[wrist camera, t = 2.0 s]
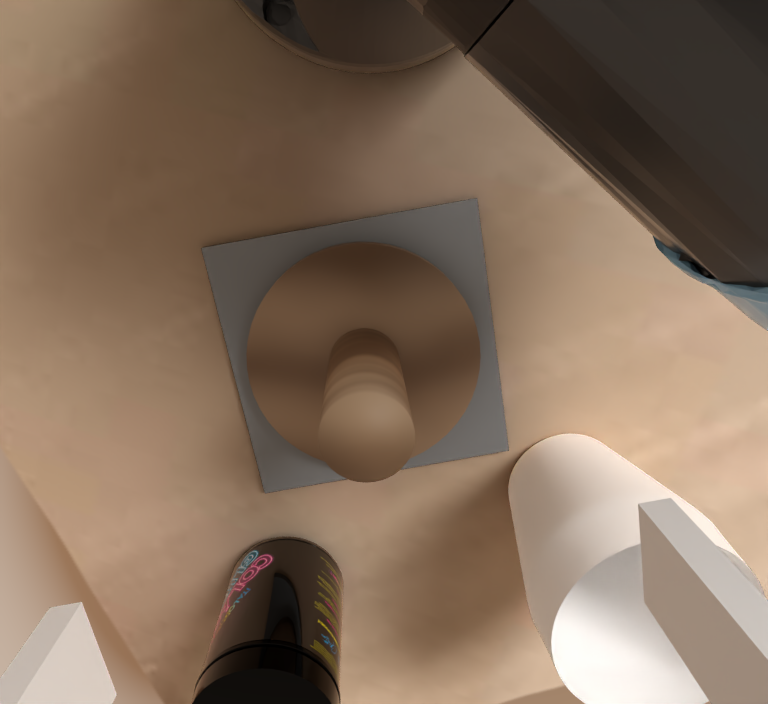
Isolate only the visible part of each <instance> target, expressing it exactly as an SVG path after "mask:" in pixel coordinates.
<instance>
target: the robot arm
mask: <svg viewBox="0 0 768 704" xmlns="http://www.w3.org/2000/svg"><path fill="white" fill-rule="evenodd" d="M235 1H236V2H237V4H238V5H239V6H240V8H241V9H242V10H243V11H244V12H245V13H246V15H247V16H248V17H249V18H250V19H251V20H252V21H253V22H254V23H255V24H256V25H257V26H258V27H259V28H260V29H261V30H262V31H264V32H265V33H266V34H267V35H268V36H269V37H271V38H272V39H273V40H275V41H276V42H277V43H279V44H280V45H282V46H283V47H285V48H286V49H288V50H289V51H291V52H293V53H295V54H297V55H298V56H300V57H302V58H304V59H307V60H309V61H311V62H313V63H316V64H319V65H322V66H325V67H329V68H332V69H336V70H341V71H347V72H355V73H385V72H392V71H398V70H402V69H407V68H410V67H413V66H417V65H420V64H422V63H425V62H427V61H430V60H432V59H434V58H436V57H438V56H440V55H442V54H444V53H445V52H447V51H449V50H450V49H452V48H453V47H455V46H457V47H458V48H459V49H460V50H461V51H462V53H463V54H465V56H464V57H465V58H466V59H467V60H468V61H469V62H470V63H471V64H472V65H473V66H474V67H476V68H477V69H478V70H479V71H480V72H481V73H482V74H483V75H484V76H485V77H486V78H487V79H488V80H489V81H490V82H491V83H492V84H493V85H495V86H496V87H497V88H498V89H499V90H500V91H501V92H502V93H503V94H504V95H505V96H506V97H507V98H508V99H509V100H510V101H511V102H513V103H514V104H515V105H516V106H517V107H518V108H519V109H520V110H521V111H522V112H523V113H524V114H525V115H526V116H527V117H528V118H529V119H531V120H532V121H533V122H534V123H535V124H536V125H537V126H538V127H539V128H540V129H541V130H542V131H543V132H544V133H545V134H546V135H547V136H549V137H550V138H551V139H552V140H553V141H554V142H555V143H556V144H557V145H558V146H559V147H560V148H561V149H562V150H563V151H564V152H565V153H567V154H568V155H569V156H570V157H571V158H572V159H573V160H574V161H575V162H576V163H577V164H578V165H579V166H580V167H581V168H582V169H583V170H585V171H586V172H587V173H588V174H589V175H590V176H591V177H592V178H593V179H594V180H595V181H596V182H597V183H598V184H599V185H600V186H601V187H603V188H604V189H605V190H606V191H607V192H608V193H609V194H610V195H611V196H612V197H613V198H614V199H615V200H616V201H617V202H618V203H619V204H621V205H622V206H623V207H624V208H625V209H626V210H627V211H628V212H629V213H630V214H631V215H632V216H633V217H634V218H635V219H636V220H637V221H639V222H640V223H641V224H642V225H643V226H644V227H645V228H646V229H647V230H648V231H649V232H650V233H651V234H652V235H653V237H654V240H655V243H656V246H657V248H658V249H659V250H660V251H661V252H662V253H663V254H664V255H665V256H666V257H667V258H668V259H669V260H670V261H671V262H672V263H673V264H674V265H675V266H677V267H678V268H679V269H681V270H682V271H683V272H684V273H686V274H687V275H689V276H690V277H692V278H694V279H696V280H698V281H700V282H702V283H705V284H707V285H709V286H711V287H713V288H715V289H716V290H717V291H718V292H719V293H721V294H722V295H723V296H724V297H725V298H726V299H728V300H729V301H730V302H731V303H732V304H733V305H735V306H736V307H737V308H738V309H739V310H741V311H742V312H743V313H744V314H745V315H746V316H748V317H749V318H750V319H751V320H753V321H754V322H755V323H757V324H758V325H760V326H761V327H763V328H764V329H766V330H767V331H768V0H235ZM638 511H639V527H640V543H641V558H642V574H643V590H644V603H645V604H646V606H647V607H648V609H649V610H650V612H651V613H652V615H653V616H654V618H655V619H656V621H657V622H658V624H659V625H660V627H661V628H662V630H663V631H664V633H665V634H666V636H667V638H668V639H669V641H670V642H671V644H672V645H673V647H674V648H675V650H676V651H677V653H678V654H679V656H680V657H681V659H682V660H683V662H684V663H685V665H686V666H687V668H688V669H689V671H690V673H691V674H692V676H693V677H694V679H695V680H696V682H697V683H698V685H699V686H700V688H701V689H702V691H703V692H704V694H705V695H706V697H707V698H708V700H709V701H710V703H711V704H768V600H767V599H766V598H765V597H764V596H763V595H762V594H761V593H760V592H759V591H758V589H757V588H756V587H755V586H754V585H753V584H752V583H751V582H750V581H749V580H748V579H747V578H746V577H745V576H744V575H743V574H742V573H741V572H740V570H739V569H738V568H737V567H736V566H735V565H734V564H733V563H732V562H731V561H730V560H729V559H728V558H727V557H726V556H725V555H724V554H723V552H722V551H721V550H720V549H719V548H718V547H717V546H716V545H715V544H714V543H713V542H712V541H711V540H710V539H709V538H708V537H707V536H706V534H705V533H704V532H703V531H702V530H701V529H700V528H699V527H698V526H697V525H696V524H695V523H694V522H693V521H692V520H691V519H690V518H689V516H688V515H687V514H686V513H685V512H684V511H683V510H682V509H681V508H680V507H679V506H678V505H677V504H676V503H675V502H674V501H673V500H672V498H667V499H661V500H656V501H650V502H644V503H639V504H638ZM116 695H117V693H116V691H115V688H114V685H113V683H112V680H111V678H110V675H109V672H108V670H107V667H106V664H105V662H104V659H103V657H102V654H101V652H100V649H99V646H98V643H97V641H96V638H95V636H94V633H93V630H92V628H91V625H90V623H89V620H88V617H87V615H86V612H85V609H84V607H83V604H82V602H78V603H72V604H67V605H61V606H56V607H50V608H49V609H48V611H47V612H46V613H45V615H44V617H43V618H42V619H41V621H40V622H39V623H38V625H37V626H36V628H35V629H34V631H33V632H32V633H31V635H30V636H29V638H28V639H27V641H26V642H25V643H24V645H23V646H22V648H21V649H20V650H19V652H18V654H17V655H16V656H15V658H14V659H13V661H12V662H11V663H10V665H9V666H8V668H7V669H6V670H5V672H4V673H3V675H2V676H1V678H0V704H113V702H114V699H115V697H116Z"/></svg>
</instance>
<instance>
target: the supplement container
mask: <svg viewBox="0 0 768 704" xmlns="http://www.w3.org/2000/svg"><path fill="white" fill-rule="evenodd" d="M342 610H343V578H342V574H341V571H340V569H339V567H338V565H337V563H336V562H335V560H334V559H333V558H332V556H331V555H330V554H329V553H328V552H327V551H326V550H325V549H323V548H322V547H320V546H319V545H317V544H315V543H313V542H311V541H308V540H306V539H302V538H297V537H276V538H271V539H268V540H265V541H263V542H260V543H259V544H257V545H255V546H254V547H252V548H251V549H249V550H248V551H247V552H246V553H245V554H244V555H243V556H242V557H241V558H240V559H239V561H238V562H237V564H236V565H235V568H234V570H233V573H232V576H231V579H230V582H229V585H228V589H227V592H226V595H225V598H224V601H223V605H222V608H221V611H220V614H219V617H218V621H217V624H216V627H215V630H214V633H213V637H212V640H211V643H210V646H209V650H208V653H207V656H206V659H205V662H204V666H203V669H202V672H201V674H200V676H199V678H198V681H197V684H196V687H195V691H194V695H193V699H192V702H191V704H340V700H341V699H340V664H341V637H342Z"/></svg>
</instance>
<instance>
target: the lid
mask: <svg viewBox="0 0 768 704" xmlns="http://www.w3.org/2000/svg"><path fill="white" fill-rule="evenodd" d="M246 356H247V371H248V377H249V382H250V385H251V389H252V392H253V395H254V397H255V399H256V401H257V404H258V406H259V408H260V410H261V411H262V413H263V414H264V416H265V417H266V419H267V420H268V422H269V423H270V424H271V425H272V426H273V428H274V429H275V430H276V431H277V432H278V433H279V434H280V435H281V436H282V437H283V438H284V439H285V440H287V441H288V442H289V443H290V444H292V445H293V446H295V447H296V448H297V449H299V450H300V451H302V452H304V453H306V454H308V455H310V456H312V457H314V458H316V459H319V460H322V461H324V462H326V463H327V465H328V466H329V467H330V468H331V469H332V470H333V471H334V472H336V473H337V474H339V475H340V476H342V477H344V478H347V479H349V480H353V481H357V482H375V481H379V480H383V479H386V478H388V477H390V476H392V475H394V474H395V473H396V472H398V471H399V470H400V469H401V468H402V467H403V466H404V465H405V464H406V463H407V461H408V460H409V459H410V458H413V457H414V456H416V455H418V454H420V453H422V452H424V451H426V450H427V449H429V448H430V447H432V446H433V445H435V444H436V443H438V442H439V441H440V440H441V439H442V438H443V437H444V436H446V435H447V434H448V433H449V432H450V430H451V429H452V428H453V427H454V426H455V425H456V424H457V423H458V421H459V420H460V418H461V417H462V415H463V414H464V412H465V411H466V409H467V407H468V405H469V403H470V401H471V399H472V396H473V394H474V391H475V388H476V385H477V381H478V376H479V371H480V358H481V354H480V341H479V336H478V331H477V327H476V324H475V321H474V318H473V315H472V313H471V311H470V309H469V307H468V305H467V303H466V301H465V299H464V298H463V297H462V295H461V294H460V292H459V291H458V289H457V288H456V287H455V286H454V284H453V283H452V282H451V281H450V280H449V279H448V278H447V277H446V276H445V274H444V273H443V272H441V271H440V270H439V269H438V268H437V267H435V266H434V265H433V264H432V263H430V262H429V261H427V260H425V259H424V258H422V257H421V256H419V255H417V254H415V253H413V252H410V251H408V250H406V249H403V248H400V247H396V246H393V245H390V244H383V243H377V242H351V243H342V244H338V245H334V246H330V247H327V248H324V249H322V250H319V251H317V252H314V253H312V254H310V255H309V256H307V257H305V258H303V259H301V260H300V261H298V262H297V263H296V264H294V265H293V266H292V267H290V268H289V269H288V270H287V271H286V272H285V273H284V274H283V275H282V276H281V277H280V278H279V279H278V280H277V281H276V282H275V283H274V285H273V286H272V287H271V289H270V290H269V291H268V293H267V294H266V295H265V297H264V298H263V300H262V302H261V304H260V306H259V307H258V309H257V311H256V314H255V316H254V319H253V321H252V324H251V328H250V332H249V336H248V342H247V352H246Z"/></svg>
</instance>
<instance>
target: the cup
mask: <svg viewBox="0 0 768 704" xmlns="http://www.w3.org/2000/svg"><path fill="white" fill-rule="evenodd" d="M508 495H509V502H510V507H511V513H512V519H513V524H514V530H515V536H516V541H517V547H518V553H519V558H520V564H521V570H522V575H523V581H524V586H525V592H526V597H527V603H528V606H529V610H530V613H531V617H532V620H533V622H534V625H535V627H536V629H537V630H538V632H539V634H540V636H541V638H542V640H543V642H544V644H545V646H546V648H547V650H548V652H549V654H550V657H551V659H552V661H553V663H554V665H555V668H556V670H557V672H558V674H559V676H560V678H561V680H562V681H563V683H564V684H565V685H566V687H567V688H568V689H569V690H570V691H571V692H572V693H573V694H574V695H575V696H576V697H577V698H578V699H580V700H581V701H582V702H584V703H585V704H704V703H706V702H708V701H709V700H708V698H707V697H706V695H705V694H704V692H703V691H702V689H701V688H700V686H699V685H698V683H697V682H696V680H695V679H694V677H693V676H692V674H691V673H690V671H689V669H688V668H687V666H686V665H685V663H684V662H683V660H682V659H681V657H680V656H679V654H678V653H677V651H676V650H675V648H674V647H673V645H672V644H671V642H670V641H669V639H668V638H667V636H666V634H665V633H664V631H663V630H662V628H661V627H660V625H659V624H658V622H657V621H656V619H655V618H654V616H653V615H652V613H651V612H650V610H649V609H648V607H647V606H646V604H645V603H644V590H643V574H642V558H641V543H640V527H639V511H638V504H639V503H644V502H650V501H656V500H661V499H667V498H672V500H673V501H674V502H675V503H676V504H677V505H678V506H679V507H680V508H681V509H682V510H683V511H684V512H685V513H686V514H687V515H688V516H689V518H690V519H691V520H692V521H693V522H694V523H695V524H696V525H697V526H698V527H699V528H700V529H701V530H702V531H703V532H704V533H705V534H706V536H707V537H708V538H709V539H710V540H711V541H712V542H713V543H714V544H715V545H716V546H717V547H718V548H719V549H720V550H721V551H722V552H723V554H724V555H725V556H726V557H727V558H728V559H729V560H730V561H731V562H732V563H733V564H734V565H735V566H736V567H737V568H738V569H739V570H740V572H741V573H742V574H743V575H744V576H745V577H746V578H747V579H748V580H749V581H750V582H751V583H752V584H753V585H754V586H755V587H756V588H757V589H758V591H759V592H760V593H761V594H762V595H763V596H764V597H765V595H764V591H763V589H762V587H761V584H760V582H759V580H758V579H757V577H756V575H755V574H754V573H753V571H752V570H751V569H750V568H749V566H748V565H747V564H746V563H745V562H744V561H743V559H742V558H741V557H740V556H739V555H738V554H737V552H736V551H735V550H734V549H733V548H732V547H731V545H730V544H729V543H728V542H727V541H726V539H725V538H724V537H723V535H722V534H721V533H720V532H719V530H718V529H717V528H716V526H715V525H714V524H713V523H712V522H711V521H710V520H709V519H708V518H707V517H706V516H704V515H703V514H702V513H701V512H700V511H698V510H697V509H696V508H695V507H693V506H692V505H690V504H689V503H688V502H686V501H685V500H683V499H682V498H680V497H679V496H678V495H676V494H675V493H673V492H672V491H670V490H669V489H668V488H666V487H665V486H663V485H662V484H660V483H659V482H658V481H656V480H655V479H653V478H652V477H650V476H649V475H648V474H646V473H645V472H643V471H642V470H640V469H639V468H638V467H636V466H635V465H633V464H632V463H630V462H629V461H627V460H626V459H625V458H623V457H622V456H620V455H619V454H617V453H616V452H615V451H613V450H612V449H610V448H609V447H607V446H606V445H605V444H603V443H602V442H600V441H598V440H596V439H594V438H592V437H589V436H586V435H581V434H560V435H555V436H552V437H549V438H546V439H544V440H542V441H540V442H538V443H536V444H535V445H533V446H532V447H531V448H529V449H528V450H527V451H526V452H525V453H524V454H523V455H522V456H521V457H520V459H519V460H518V461H517V463H516V464H515V466H514V468H513V470H512V473H511V476H510V479H509V485H508Z"/></svg>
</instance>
